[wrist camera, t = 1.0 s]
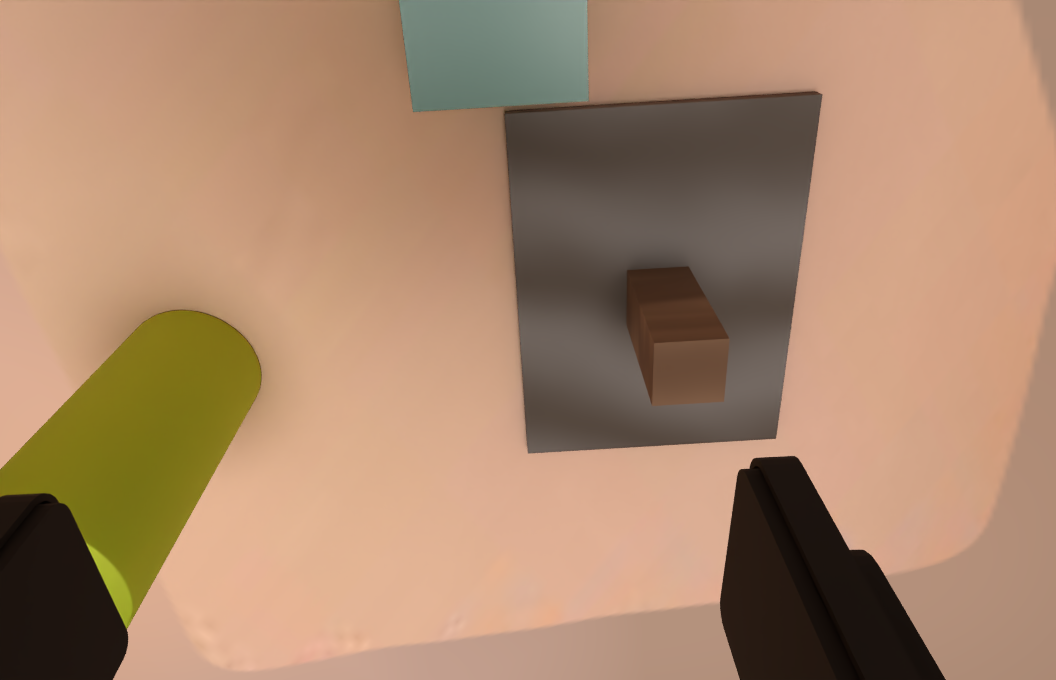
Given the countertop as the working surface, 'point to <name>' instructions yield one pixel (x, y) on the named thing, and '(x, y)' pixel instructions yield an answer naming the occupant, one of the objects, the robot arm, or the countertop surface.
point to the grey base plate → (658, 266)
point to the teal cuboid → (495, 52)
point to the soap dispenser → (142, 443)
